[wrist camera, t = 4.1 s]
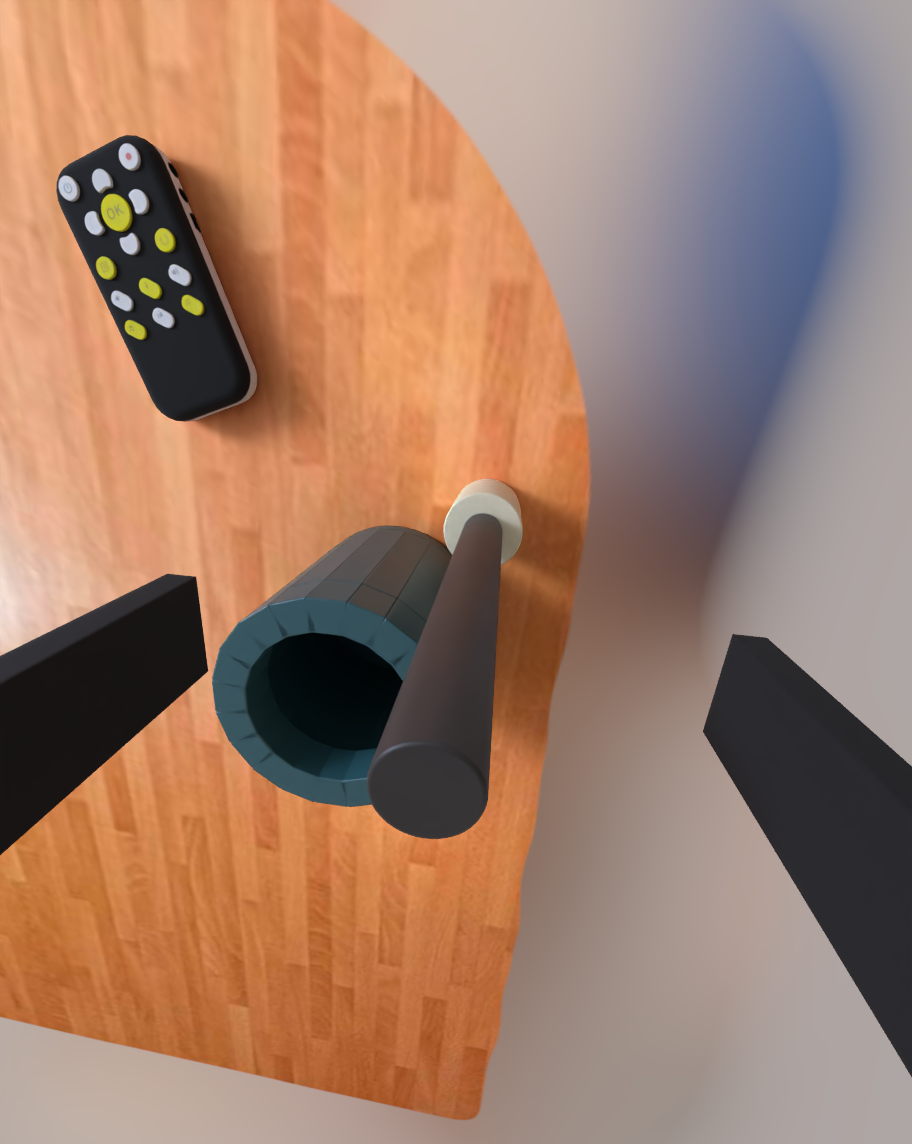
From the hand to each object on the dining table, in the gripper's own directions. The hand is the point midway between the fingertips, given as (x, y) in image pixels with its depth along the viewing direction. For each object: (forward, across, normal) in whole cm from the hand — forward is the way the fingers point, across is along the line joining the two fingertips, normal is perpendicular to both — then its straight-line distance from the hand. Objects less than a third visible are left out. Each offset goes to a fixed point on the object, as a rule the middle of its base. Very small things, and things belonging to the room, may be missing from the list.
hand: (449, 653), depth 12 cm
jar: (+18, -5, -7) cm, 20 cm away
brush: (+18, 0, 0) cm, 18 cm away
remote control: (+18, -18, +10) cm, 28 cm away
